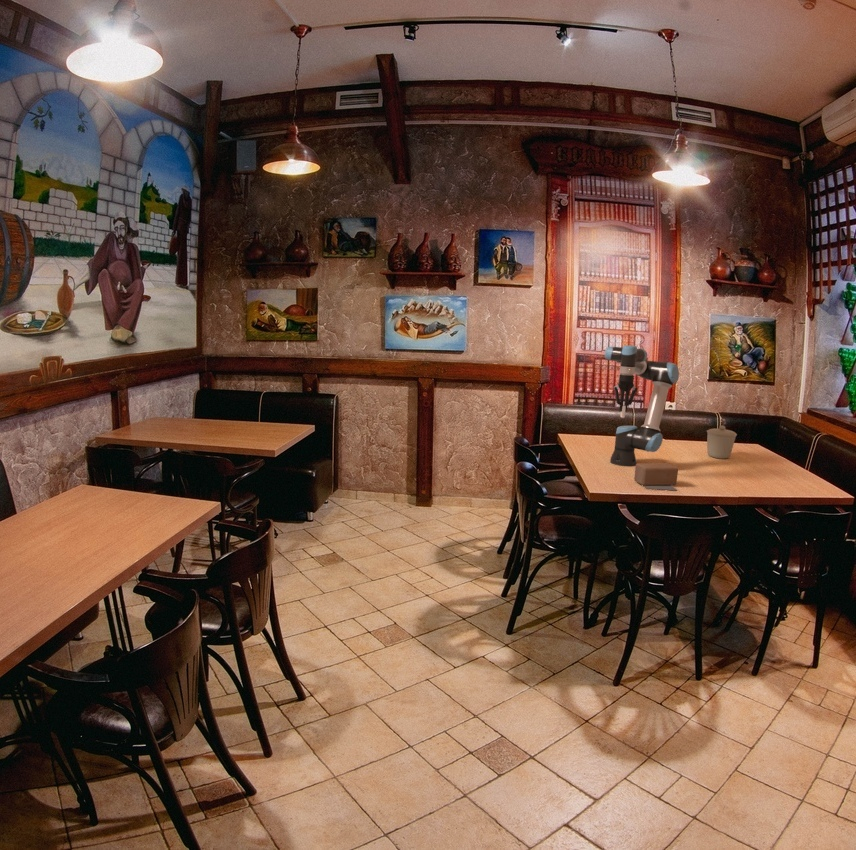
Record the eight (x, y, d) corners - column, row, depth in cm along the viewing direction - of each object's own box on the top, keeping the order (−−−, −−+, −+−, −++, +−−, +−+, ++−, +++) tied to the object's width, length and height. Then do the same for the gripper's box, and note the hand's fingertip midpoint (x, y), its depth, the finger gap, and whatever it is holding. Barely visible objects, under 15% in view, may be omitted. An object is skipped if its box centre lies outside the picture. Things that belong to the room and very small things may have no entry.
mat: (636, 480, 334) (636, 479, 334) (665, 482, 334) (666, 481, 334) (646, 489, 318) (646, 488, 318) (677, 491, 318) (677, 489, 318)
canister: (734, 461, 387) (739, 429, 383) (703, 458, 394) (707, 426, 390) (732, 456, 404) (737, 425, 400) (703, 452, 411) (707, 421, 407)
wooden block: (644, 467, 321) (679, 467, 324) (635, 462, 330) (669, 462, 333) (642, 486, 322) (676, 485, 326) (633, 480, 332) (666, 480, 335)
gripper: (616, 374, 324) (612, 418, 329) (641, 375, 324) (636, 419, 328) (612, 373, 331) (608, 415, 336) (636, 374, 331) (632, 416, 336)
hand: (622, 417), depth 332 cm, fingers closed
